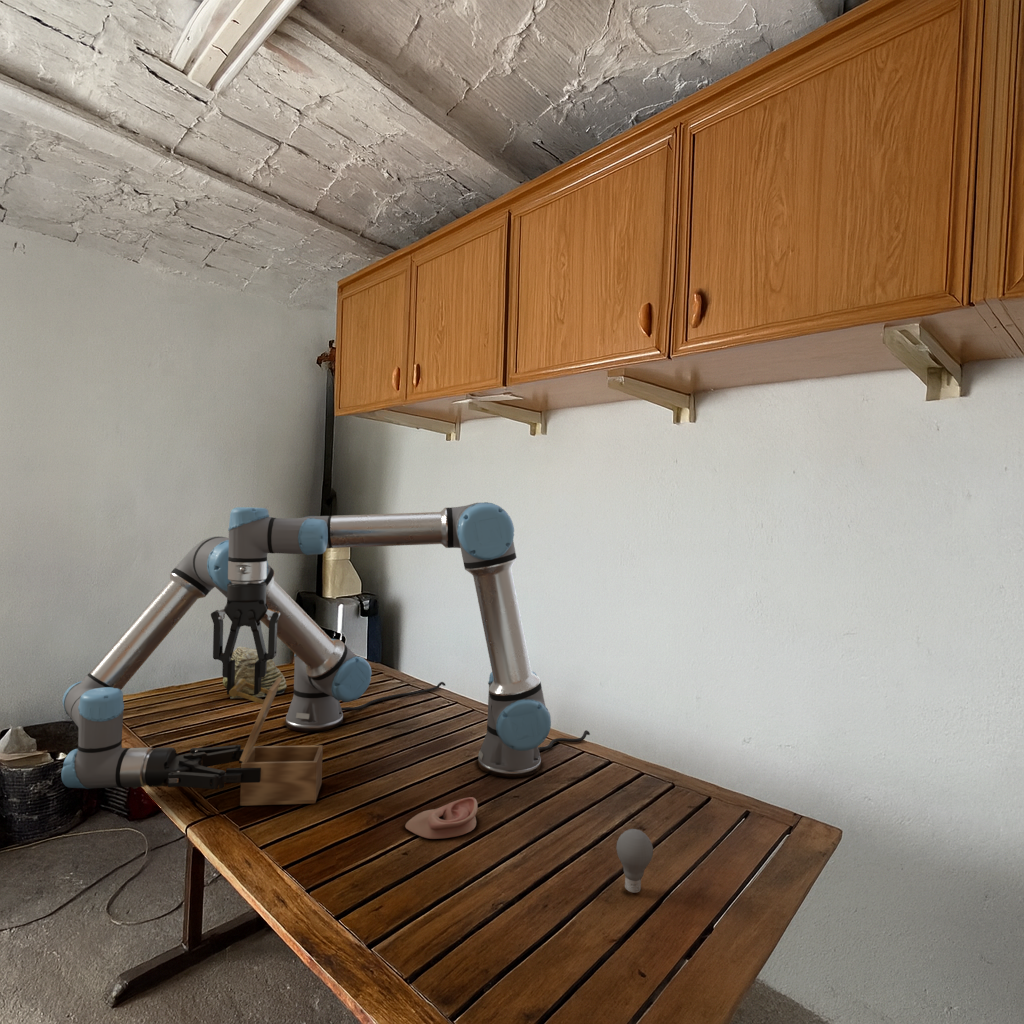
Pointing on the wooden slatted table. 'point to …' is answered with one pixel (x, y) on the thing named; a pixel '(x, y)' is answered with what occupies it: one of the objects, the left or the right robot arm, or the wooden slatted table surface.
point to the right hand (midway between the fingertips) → (244, 692)
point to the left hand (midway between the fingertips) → (265, 765)
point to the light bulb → (634, 857)
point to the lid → (262, 713)
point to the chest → (283, 775)
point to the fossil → (246, 670)
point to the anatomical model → (445, 820)
